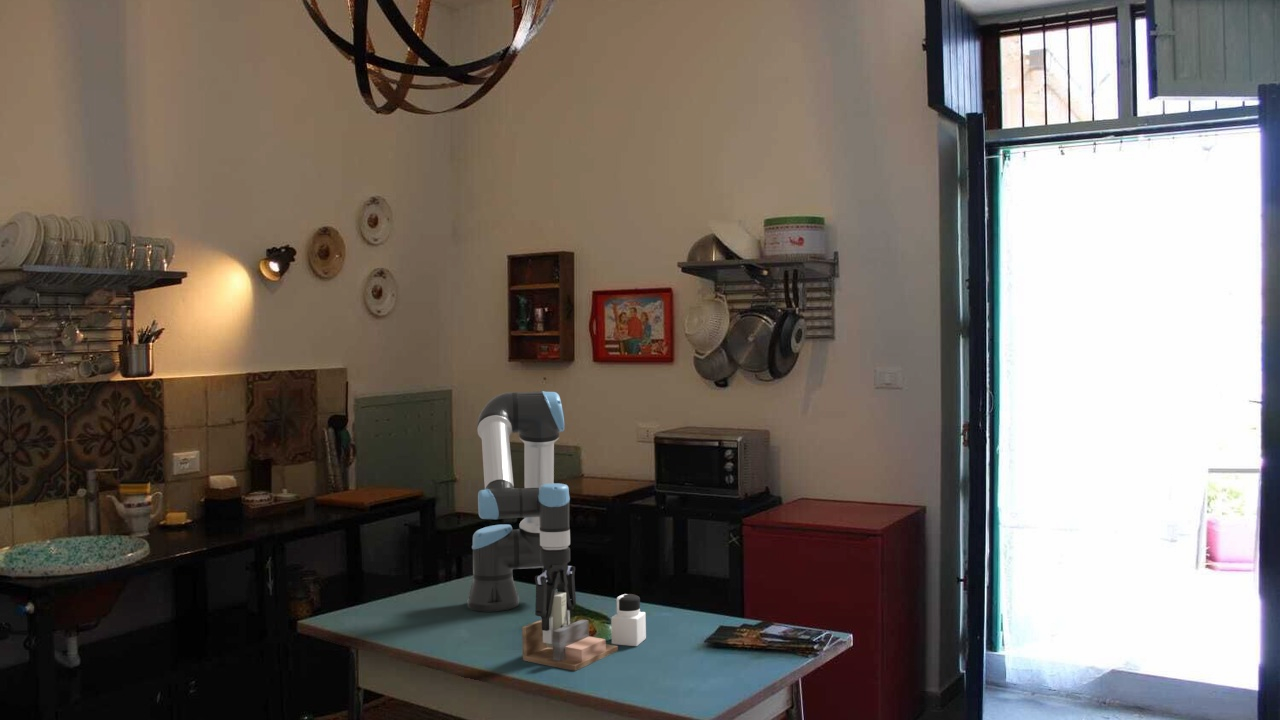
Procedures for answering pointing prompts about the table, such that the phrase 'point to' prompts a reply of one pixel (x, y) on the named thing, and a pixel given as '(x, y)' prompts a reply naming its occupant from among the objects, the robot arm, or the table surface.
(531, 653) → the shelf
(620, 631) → the medicine bottle
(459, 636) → the table surface
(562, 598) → the box
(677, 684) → the table surface
